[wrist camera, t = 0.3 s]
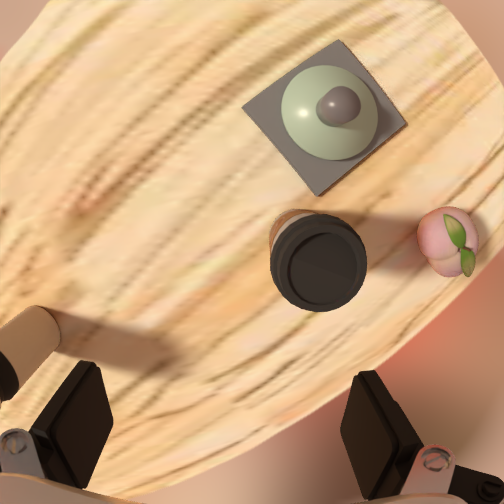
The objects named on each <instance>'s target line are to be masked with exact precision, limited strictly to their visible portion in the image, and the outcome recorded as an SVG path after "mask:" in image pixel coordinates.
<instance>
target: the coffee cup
mask: <svg viewBox="0 0 504 504" xmlns="http://www.w3.org/2000/svg"><path fill="white" fill-rule="evenodd" d="M269 246H270V271H271V274H272V278H273V281H274V283H275V285H276V286H277V288H278V290H279V291H280V292H281V294H282V296H283V297H284V298H286V299H287V300H288V301H289V302H290V303H291V304H293V305H295V306H297V307H299V308H301V309H305V310H308V311H313V312H328V311H331V310H334V309H337V308H340V307H341V306H343V305H345V304H346V303H348V302H349V301H350V300H351V299H352V298H353V297H354V296H355V295H356V294H357V293H358V291H359V290H360V288H361V286H362V285H363V282H364V279H365V276H366V271H367V257H366V251H365V247H364V244H363V242H362V240H361V238H360V236H359V235H358V234H357V233H356V232H355V231H354V230H353V228H352V227H350V225H349V224H347V223H346V222H344V221H343V220H341V219H339V218H338V217H334V216H331V215H327V214H318V213H314V212H310V211H306V210H300V209H291V210H288V211H285V212H283V213H282V214H280V215H279V216H278V217H277V218H276V219H275V220H274V222H273V224H272V225H271V229H270V235H269Z"/></svg>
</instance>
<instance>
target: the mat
mask: <svg viewBox="0 0 504 504" xmlns="http://www.w3.org/2000/svg"><path fill="white" fill-rule="evenodd" d="M320 65H329V66H336V67H340V68H342V69H345V70H347V71H349V72H351V73H353V74H354V75H356V76H357V77H358V78H359V79H360V80H362V81H363V83H364V84H365V85H366V86H367V87H368V89H369V90H370V92H371V94H372V95H373V98H374V100H375V103H376V106H377V112H378V123H377V128H376V132H375V134H374V137H373V139H372V140H371V142H370V143H369V144H368V146H367V147H366V148H365V149H364V150H363V151H361V152H360V153H358V154H356V155H354V156H352V157H350V158H346V159H341V160H325V159H320V158H317V157H314V156H312V155H310V154H308V153H307V152H305V151H303V150H302V149H301V148H300V147H298V146H297V145H296V144H295V143H294V141H293V140H292V139H291V138H290V136H289V135H288V133H287V131H286V129H285V127H284V124H283V120H282V115H281V103H282V98H283V95H284V92H285V90H286V88H287V86H288V85H289V83H290V82H291V80H292V79H293V78H294V77H295V76H296V75H298V74H299V73H300V72H302V71H304V70H306V69H308V68H311V67H314V66H320ZM242 109H243V110H244V111H245V112H246V113H247V115H248V116H249V117H250V118H251V119H252V120H253V121H254V122H255V124H256V125H257V126H258V127H259V128H260V129H261V130H262V132H263V133H264V134H265V135H266V136H267V137H268V139H269V140H270V141H271V142H272V143H273V144H274V146H275V147H276V148H277V149H278V150H279V151H280V153H281V154H282V155H283V156H284V157H285V159H286V160H287V161H288V162H289V163H290V165H291V166H292V167H293V168H294V170H295V171H296V172H297V173H298V174H299V176H300V177H301V178H302V179H303V181H304V182H305V183H306V184H307V186H308V187H309V188H310V189H311V191H312V192H313V193H314V195H315V196H318V195H319V194H321V193H322V192H323V191H324V190H325V189H327V188H328V187H329V186H330V185H332V184H333V183H334V182H335V181H336V180H338V179H339V178H340V177H341V176H342V175H344V174H345V173H346V172H347V171H349V170H350V169H351V168H352V167H353V166H355V165H356V164H357V163H358V162H359V161H361V160H362V159H363V158H364V157H366V156H367V155H368V154H369V153H370V152H372V151H373V150H374V149H375V148H376V147H378V146H379V145H380V144H381V143H383V142H384V141H385V140H386V139H387V138H389V137H390V136H391V135H392V134H393V133H395V132H396V131H397V130H398V129H400V128H401V127H402V126H403V125H404V124H406V123H405V121H404V120H403V118H402V117H401V116H400V114H399V113H398V111H397V110H396V109H395V107H394V106H393V104H392V103H391V102H390V100H389V99H388V98H387V96H386V95H385V94H384V92H383V91H382V90H381V89H380V87H379V86H378V85H377V83H376V82H375V81H374V80H373V78H372V77H371V76H370V75H369V73H368V72H367V71H366V70H365V69H364V67H363V66H362V65H361V64H360V63H359V61H358V60H357V59H356V58H355V57H354V56H353V55H352V53H351V52H350V51H349V50H348V49H347V48H346V47H345V46H344V44H343V43H342V42H341V41H340V40H339V39H338V40H337V41H335V42H333V43H332V44H330V45H329V46H327V47H325V48H324V49H322V50H321V51H319V52H318V53H316V54H315V55H313V56H312V57H310V58H309V59H307V60H306V61H304V62H303V63H301V64H300V65H298V66H297V67H295V68H294V69H293V70H291V71H290V72H288V73H287V74H285V75H284V76H283V77H281V78H280V79H278V80H277V81H276V82H274V83H273V84H272V85H270V86H269V87H267V88H266V89H265V90H263V91H262V92H261V93H259V94H258V95H257V96H255V97H254V98H253V99H252V100H250V101H249V102H248V103H246V104H245V105H244V106H243V107H242Z"/></svg>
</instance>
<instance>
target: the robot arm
mask: <svg viewBox="0 0 504 504" xmlns="http://www.w3.org/2000/svg"><path fill="white" fill-rule="evenodd" d="M112 427H113V416H112V412H111V409H110V405H109V402H108V398H107V394H106V390H105V387H104V383H103V378H102V374H101V370H100V368H99V367H97V366H96V364H95V363H94V362H89V361H83V360H80V361H79V362H78V363H77V365H76V366H75V367H74V369H73V370H72V371H71V372H70V374H69V375H68V376H67V378H66V379H65V380H64V382H63V383H62V385H61V386H60V387H59V389H58V390H57V391H56V393H55V394H54V395H53V397H52V398H51V400H50V401H49V402H48V404H47V405H46V406H45V408H44V409H43V411H42V412H41V414H40V415H39V416H38V418H37V419H36V421H35V422H34V424H33V425H32V426H31V429H30V430H29V431H28V432H27V431H25V430H23V429H19V428H15V429H10V430H7V431H5V432H4V433H2V435H1V436H0V504H143V503H138V502H133V501H128V500H123V499H118V498H114V497H109V496H105V495H101V494H97V493H93V492H89V491H86V490H82V489H83V488H84V489H85V488H86V487H87V486H88V483H89V481H90V479H91V476H92V474H93V471H94V469H95V466H96V464H97V462H98V459H99V457H100V455H101V452H102V450H103V448H104V445H105V443H106V441H107V438H108V436H109V434H110V431H111V429H112ZM340 432H341V436H342V439H343V442H344V445H345V447H346V450H347V453H348V456H349V459H350V462H351V464H352V467H353V470H354V473H355V476H356V479H357V481H358V485H359V487H360V490H361V493H362V496H363V498H364V499H368V501H365V502H360V503H354V504H504V482H503V481H502V480H501V479H500V478H498V477H496V476H493V475H489V474H486V473H482V472H478V471H474V470H471V469H468V468H465V467H461V466H458V465H455V462H456V459H455V456H454V454H453V453H452V451H451V450H449V449H448V448H446V447H444V446H442V445H436V444H434V445H428V446H425V447H424V445H423V443H422V442H421V440H420V438H419V437H418V435H417V433H416V432H415V430H414V429H413V427H412V425H411V424H410V422H409V421H408V419H407V417H406V415H405V414H404V412H403V411H402V409H401V407H400V406H399V404H398V403H397V402H396V401H394V400H393V398H392V397H391V395H390V393H389V392H388V390H387V388H386V387H385V385H384V383H383V382H382V380H381V379H380V377H379V376H378V374H377V373H376V371H375V370H369V371H360V372H359V373H358V375H356V376H354V378H353V382H352V386H351V390H350V394H349V398H348V401H347V405H346V409H345V413H344V416H343V420H342V423H341V427H340Z"/></svg>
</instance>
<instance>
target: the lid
mask: <svg viewBox="0 0 504 504" xmlns="http://www.w3.org/2000/svg"><path fill="white" fill-rule="evenodd" d="M281 115H282V120H283V124H284V127H285V129H286V131H287V133H288V135H289V136H290V138H291V139H292V140H293V141H294V143H295V144H296V145H297V146H298V147H300V148H301V149H302V150H303V151H305V152H307V153H308V154H310V155H312V156H314V157H317V158H320V159H325V160H341V159H346V158H350V157H352V156H354V155H356V154H358V153H360V152H361V151H363V150H364V149H365V148H366V147H367V146H368V144H369V143H370V142H371V140H372V139H373V137H374V134H375V132H376V128H377V123H378V112H377V106H376V103H375V100H374V98H373V95H372V94H371V92H370V90H369V89H368V87H367V86H366V85H365V84H364V83H363V81H362V80H360V79H359V78H358V77H357V76H356V75H354V74H353V73H351V72H349V71H347V70H345V69H342V68H340V67H336V66H329V65H320V66H314V67H311V68H308V69H306V70H304V71H302V72H300V73H299V74H298V75H296V76H295V77H294V78H293V79H292V80H291V82H290V83H289V85H288V86H287V88H286V90H285V92H284V95H283V98H282V103H281Z"/></svg>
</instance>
